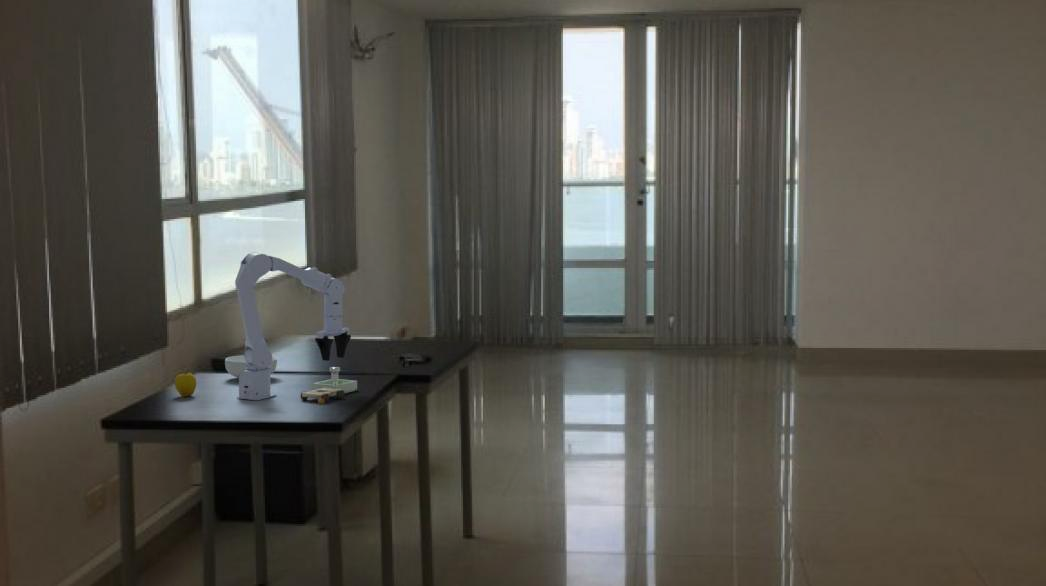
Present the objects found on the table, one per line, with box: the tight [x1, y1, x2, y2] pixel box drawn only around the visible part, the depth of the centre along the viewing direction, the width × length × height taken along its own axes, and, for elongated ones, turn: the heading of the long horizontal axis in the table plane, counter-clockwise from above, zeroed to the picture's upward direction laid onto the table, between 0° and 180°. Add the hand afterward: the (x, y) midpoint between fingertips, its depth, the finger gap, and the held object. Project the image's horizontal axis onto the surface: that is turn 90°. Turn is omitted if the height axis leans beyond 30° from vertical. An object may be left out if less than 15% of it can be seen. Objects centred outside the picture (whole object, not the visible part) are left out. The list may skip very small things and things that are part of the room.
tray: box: [312, 378, 358, 394], centre depth 371 cm, size 11×9×3 cm
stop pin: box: [329, 366, 341, 385], centre depth 371 cm, size 3×3×7 cm
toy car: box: [300, 388, 346, 405], centre depth 357 cm, size 12×9×3 cm
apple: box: [174, 370, 197, 398], centre depth 360 cm, size 6×6×8 cm
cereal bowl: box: [224, 354, 278, 379], centre depth 394 cm, size 17×17×7 cm
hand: (333, 358), depth 371 cm, fingers open, 7 cm apart
